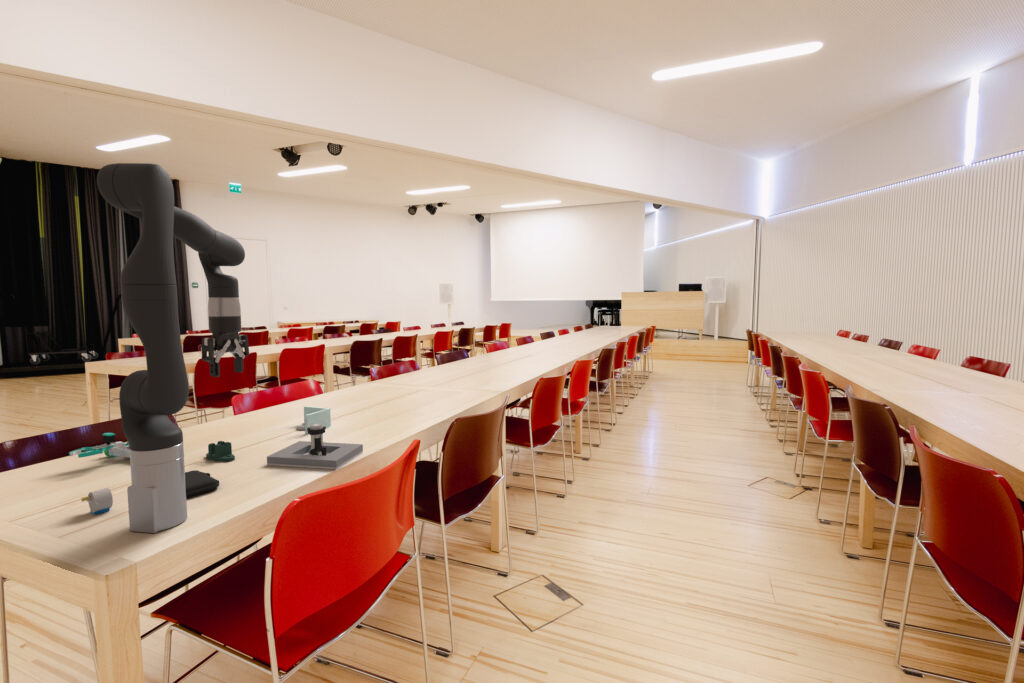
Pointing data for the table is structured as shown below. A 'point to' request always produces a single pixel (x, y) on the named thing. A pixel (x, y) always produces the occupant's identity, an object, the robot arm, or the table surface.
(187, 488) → the carrying case or bag
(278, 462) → the plate
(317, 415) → the l-shaped corner panel
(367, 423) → the table surface
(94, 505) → the electric motor
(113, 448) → the robot kit
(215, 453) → the mount
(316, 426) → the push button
